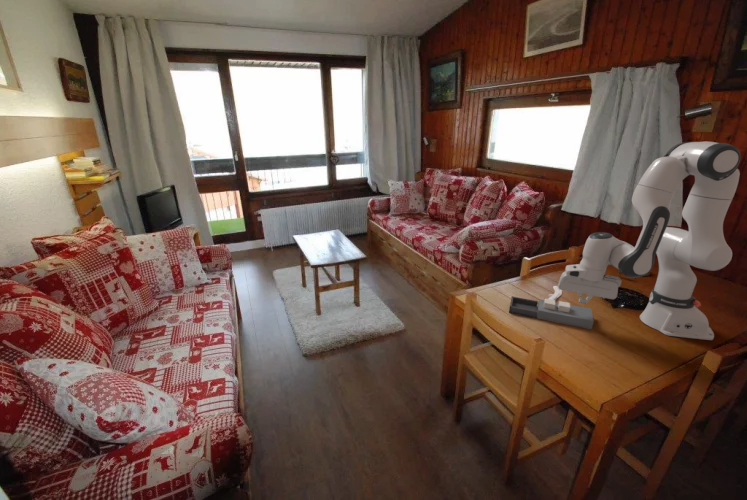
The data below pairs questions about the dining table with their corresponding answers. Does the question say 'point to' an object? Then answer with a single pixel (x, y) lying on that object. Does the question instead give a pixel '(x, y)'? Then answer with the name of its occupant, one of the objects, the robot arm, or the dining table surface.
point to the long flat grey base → (567, 315)
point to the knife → (556, 294)
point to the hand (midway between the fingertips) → (582, 302)
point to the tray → (523, 307)
